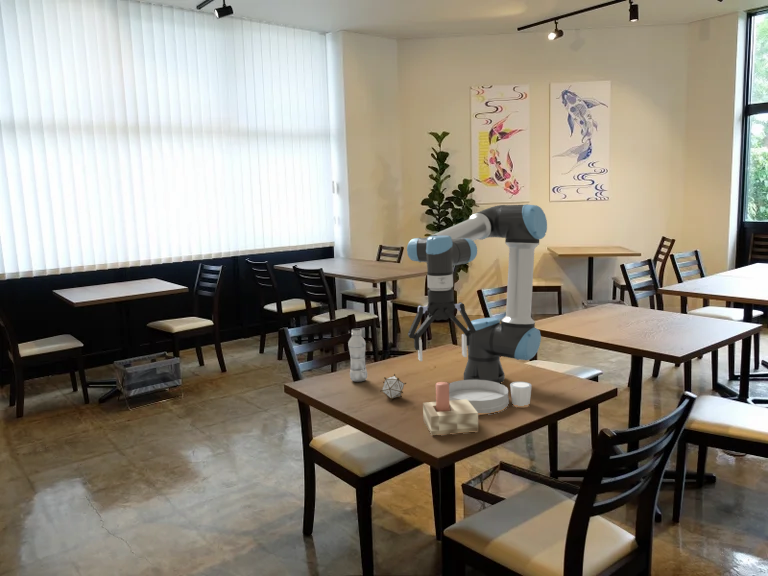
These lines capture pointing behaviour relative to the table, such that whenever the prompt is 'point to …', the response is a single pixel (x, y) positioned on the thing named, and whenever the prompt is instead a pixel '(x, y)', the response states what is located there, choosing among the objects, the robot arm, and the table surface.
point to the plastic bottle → (357, 356)
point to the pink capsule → (442, 397)
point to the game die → (392, 387)
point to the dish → (480, 394)
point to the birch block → (450, 417)
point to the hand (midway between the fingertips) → (442, 358)
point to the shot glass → (520, 393)
